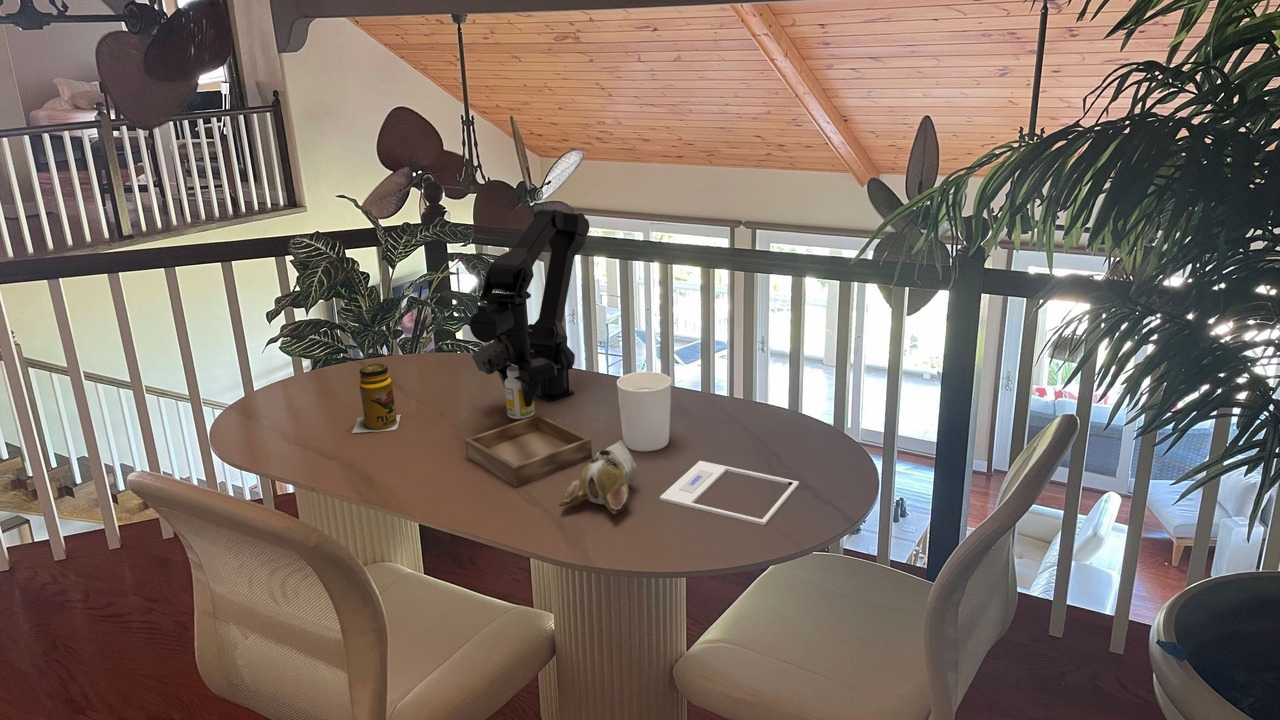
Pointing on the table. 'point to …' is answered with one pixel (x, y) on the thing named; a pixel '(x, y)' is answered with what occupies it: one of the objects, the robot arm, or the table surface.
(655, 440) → the candle holder
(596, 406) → the table surface
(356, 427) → the condiment
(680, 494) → the photo frame
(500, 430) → the box
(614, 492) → the ceramic sculpture
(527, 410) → the supplement bottle
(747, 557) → the table surface
